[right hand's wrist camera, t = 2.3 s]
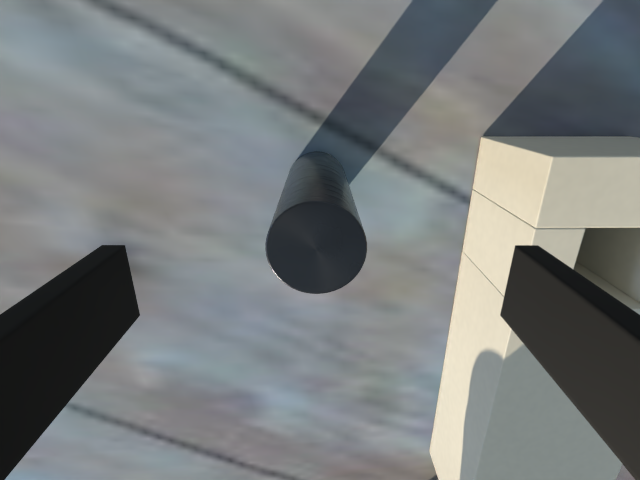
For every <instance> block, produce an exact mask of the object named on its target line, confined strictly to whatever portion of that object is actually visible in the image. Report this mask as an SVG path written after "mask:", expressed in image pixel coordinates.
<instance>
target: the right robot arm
mask: <svg viewBox="0 0 640 480" xmlns="http://www.w3.org/2000/svg"><path fill="white" fill-rule="evenodd" d="M139 316H140V313H139V309H138V304H137V299H136V295H135V290H134V286H133V281H132V276H131V272H130V267H129V262H128V258H127V253H126V249H125V245H102V246H100V247H99V248H97V249H96V250H94V251H93V252H91V253H90V254H89V255H87V256H86V257H84V258H83V259H81V260H80V261H78V262H77V263H75V264H74V265H72V266H71V267H69V268H68V269H67V270H65V271H64V272H62V273H61V274H59V275H58V276H56V277H55V278H53V279H52V280H50V281H49V282H48V283H46V284H45V285H43V286H42V287H40V288H39V289H37V290H36V291H34V292H33V293H31V294H30V295H28V296H27V297H26V298H24V299H23V300H21V301H20V302H18V303H17V304H15V305H14V306H12V307H11V308H9V309H8V310H6V311H5V312H4V313H2V314H1V315H0V480H5V478H6V477H7V476H8V475H9V473H10V472H11V471H12V470H13V469H14V467H15V466H16V465H17V464H18V463H19V461H20V460H21V459H22V458H23V457H24V455H25V454H26V453H27V452H28V450H29V449H30V448H31V447H32V446H33V444H34V443H35V442H36V441H37V440H38V438H39V437H40V436H41V435H42V433H43V432H44V431H45V430H46V429H47V427H48V426H49V425H50V424H51V423H52V421H53V420H54V419H55V418H56V416H57V415H58V414H59V413H60V412H61V410H62V409H63V408H64V407H65V406H66V404H67V403H68V402H69V401H70V399H71V398H72V397H73V396H74V395H75V393H76V392H77V391H78V390H79V389H80V387H81V386H82V385H83V384H84V382H85V381H86V380H87V379H88V378H89V376H90V375H91V374H92V373H93V372H94V370H95V369H96V368H97V367H98V365H99V364H100V363H101V362H102V361H103V359H104V358H105V357H106V356H107V355H108V353H109V352H110V351H111V350H112V348H113V347H114V346H115V345H116V344H117V342H118V341H119V340H120V339H121V338H122V336H123V335H124V334H125V333H126V331H127V330H128V329H129V328H130V327H131V325H132V324H133V323H134V322H135V321H136V319H137V318H138V317H139ZM500 316H501V317H502V318H503V319H504V321H505V322H506V323H507V324H508V325H509V327H510V328H511V329H512V330H513V331H514V333H515V334H516V335H517V336H518V338H519V339H520V340H521V341H522V342H523V344H524V345H525V346H526V347H527V348H528V350H529V351H530V352H531V353H532V355H533V356H534V357H535V358H536V359H537V361H538V362H539V363H540V364H541V365H542V367H543V368H544V369H545V370H546V372H547V373H548V374H549V375H550V376H551V378H552V379H553V380H554V381H555V382H556V384H557V385H558V386H559V387H560V389H561V390H562V391H563V392H564V393H565V395H566V396H567V397H568V398H569V399H570V401H571V402H572V403H573V404H574V406H575V407H576V408H577V409H578V410H579V412H580V413H581V414H582V415H583V416H584V418H585V419H586V420H587V421H588V423H589V424H590V425H591V426H592V427H593V429H594V430H595V431H596V432H597V433H598V435H599V436H600V437H601V438H602V440H603V441H604V442H605V443H606V444H607V446H608V447H609V448H610V449H611V450H612V452H613V453H614V454H615V455H616V457H617V458H618V459H619V460H620V461H621V463H622V464H623V465H624V466H625V467H626V469H627V470H628V471H629V472H630V473H631V475H632V476H633V477H634V478H635V480H640V315H639V314H638V313H636V312H635V311H634V310H632V309H631V308H629V307H628V306H626V305H625V304H623V303H622V302H620V301H619V300H617V299H616V298H614V297H613V296H612V295H610V294H609V293H607V292H606V291H604V290H603V289H601V288H600V287H598V286H597V285H595V284H594V283H592V282H591V281H590V280H588V279H587V278H585V277H584V276H582V275H581V274H579V273H578V272H576V271H575V270H573V269H572V268H571V267H569V266H568V265H566V264H565V263H563V262H562V261H560V260H559V259H557V258H556V257H554V256H553V255H551V254H550V253H549V252H547V251H546V250H544V249H543V248H541V247H540V246H538V245H515V249H514V253H513V258H512V262H511V267H510V272H509V276H508V281H507V286H506V290H505V295H504V299H503V304H502V309H501V313H500Z"/></svg>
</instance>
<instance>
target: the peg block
mask: <svg viewBox="0 0 640 480" xmlns="http://www.w3.org/2000/svg"><path fill="white" fill-rule="evenodd" d="M515 245H538V246H540V247H541V248H543V249H544V250H546V251H547V252H549V253H550V254H551V255H553V256H554V257H556V258H557V259H559V260H560V261H562V262H563V263H565V264H566V265H568V266H569V267H571V268H572V269H573V270H575V271H576V272H578V273H579V274H581V275H582V276H584V277H585V278H587V279H588V280H590V281H591V282H592V283H594V284H595V285H597V286H598V287H600V288H601V289H603V290H604V291H606V292H607V293H609V294H610V295H612V296H613V297H614V298H616V299H617V300H619V301H620V302H622V303H623V304H625V305H626V306H628V307H629V308H631V309H632V310H634V311H635V312H636V313H638V314H639V315H640V138H637V137H630V136H483V137H481V142H480V148H479V154H478V160H477V166H476V172H475V178H474V184H473V190H472V196H471V202H470V208H469V215H468V221H467V227H466V233H465V239H464V245H463V251H462V257H461V263H460V269H459V275H458V281H457V287H456V293H455V299H454V305H453V312H452V318H451V324H450V330H449V336H448V342H447V348H446V354H445V360H444V366H443V373H442V379H441V385H440V391H439V397H438V403H437V409H436V415H435V421H434V427H433V434H432V440H431V446H430V454H431V457H432V460H433V463H434V467H435V470H436V473H437V476H438V480H616V478H617V475H618V473H619V471H620V469H621V467H622V465H623V464H622V463H621V461H620V460H619V459H618V458H617V457H616V455H615V454H614V453H613V452H612V450H611V449H610V448H609V447H608V446H607V444H606V443H605V442H604V441H603V440H602V438H601V437H600V436H599V435H598V433H597V432H596V431H595V430H594V429H593V427H592V426H591V425H590V424H589V423H588V421H587V420H586V419H585V418H584V416H583V415H582V414H581V413H580V412H579V410H578V409H577V408H576V407H575V406H574V404H573V403H572V402H571V401H570V399H569V398H568V397H567V396H566V395H565V393H564V392H563V391H562V390H561V389H560V387H559V386H558V385H557V384H556V382H555V381H554V380H553V379H552V378H551V376H550V375H549V374H548V373H547V372H546V370H545V369H544V368H543V367H542V365H541V364H540V363H539V362H538V361H537V359H536V358H535V357H534V356H533V355H532V353H531V352H530V351H529V350H528V348H527V347H526V346H525V345H524V344H523V342H522V341H521V340H520V339H519V338H518V336H517V335H516V334H515V333H514V331H513V330H512V329H511V328H510V327H509V325H508V324H507V323H506V322H505V321H504V319H503V318H502V317H501V316H500V313H501V309H502V304H503V299H504V295H505V290H506V286H507V281H508V276H509V272H510V267H511V262H512V258H513V253H514V249H515Z"/></svg>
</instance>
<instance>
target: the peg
mask: <svg viewBox="0 0 640 480" xmlns="http://www.w3.org/2000/svg"><path fill="white" fill-rule="evenodd" d="M366 253H367V241H366V236H365V233H364V230H363V227H362V224H361V221H360V218H359V215H358V212H357V209H356V206H355V203H354V200H353V197H352V194H351V191H350V188H349V185H348V182H347V179H346V176H345V173H344V170H343V167H342V166H341V164H340V163H339V162H338V160H336V159H335V158H334V157H333V156H331V155H329V154H327V153H323V152H311V153H307V154H305V155H303V156H301V157H300V158H298V159H297V160H296V161H295V163H294V164H293V165H292V167H291V169H290V172H289V175H288V178H287V180H286V183H285V186H284V189H283V192H282V194H281V197H280V200H279V203H278V206H277V209H276V211H275V214H274V217H273V220H272V223H271V226H270V228H269V231H268V235H267V238H266V256H267V259H268V262H269V265H270V267H271V269H272V270H273V272H274V273H275V275H276V276H277V277H278V278H279V279H280V280H281V281H282V282H284V283H285V284H286V285H288V286H289V287H291V288H293V289H296V290H298V291H301V292H305V293H313V294H320V293H327V292H331V291H335V290H337V289H339V288H341V287H343V286H345V285H346V284H348V283H349V282H350V281H352V280H353V279H354V278H355V277H356V275H357V274H358V273H359V271H360V270H361V268H362V266H363V264H364V261H365V258H366Z"/></svg>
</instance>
